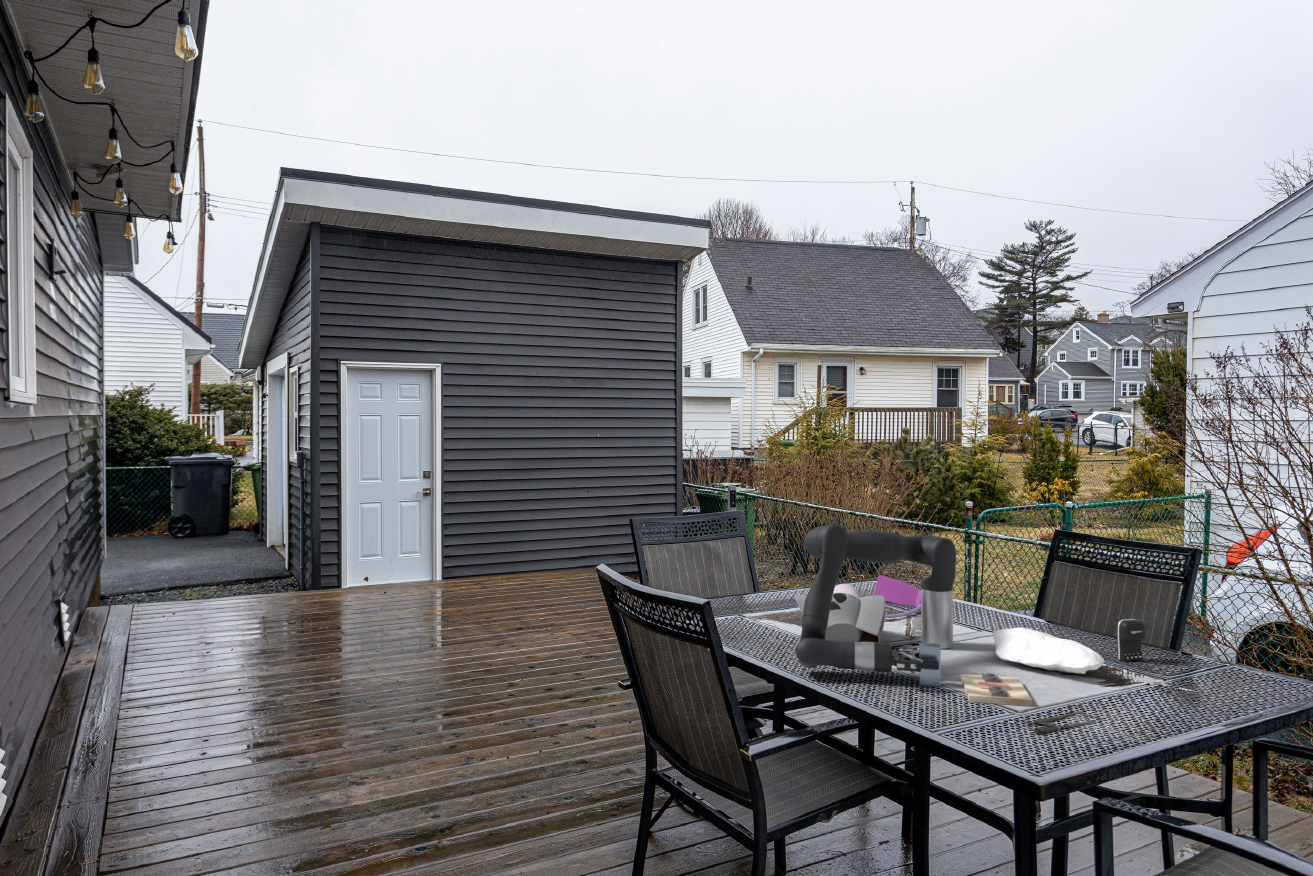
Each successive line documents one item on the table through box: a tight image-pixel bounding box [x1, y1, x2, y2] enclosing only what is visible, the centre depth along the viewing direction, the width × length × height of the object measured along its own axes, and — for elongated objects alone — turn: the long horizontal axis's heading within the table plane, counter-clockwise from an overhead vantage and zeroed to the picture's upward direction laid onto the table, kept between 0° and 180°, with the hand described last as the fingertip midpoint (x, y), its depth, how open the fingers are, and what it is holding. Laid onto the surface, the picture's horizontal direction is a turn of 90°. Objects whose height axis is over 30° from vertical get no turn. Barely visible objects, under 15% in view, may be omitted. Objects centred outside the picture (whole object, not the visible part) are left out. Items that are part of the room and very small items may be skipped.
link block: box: [918, 642, 942, 687], centre depth 209 cm, size 4×5×10 cm
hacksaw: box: [1022, 704, 1103, 736], centre depth 182 cm, size 24×10×2 cm, turn 115°
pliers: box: [1134, 675, 1195, 692], centre depth 203 cm, size 10×2×15 cm
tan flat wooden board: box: [960, 672, 1033, 707], centre depth 201 cm, size 18×14×2 cm
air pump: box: [833, 574, 921, 619], centre depth 293 cm, size 32×38×10 cm
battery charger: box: [1116, 618, 1146, 662], centre depth 229 cm, size 7×4×11 cm, turn 101°
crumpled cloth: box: [992, 627, 1105, 675], centre depth 224 cm, size 24×35×9 cm
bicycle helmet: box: [794, 593, 886, 643], centre depth 254 cm, size 28×26×16 cm
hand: (937, 660), depth 209 cm, fingers open, 8 cm apart
